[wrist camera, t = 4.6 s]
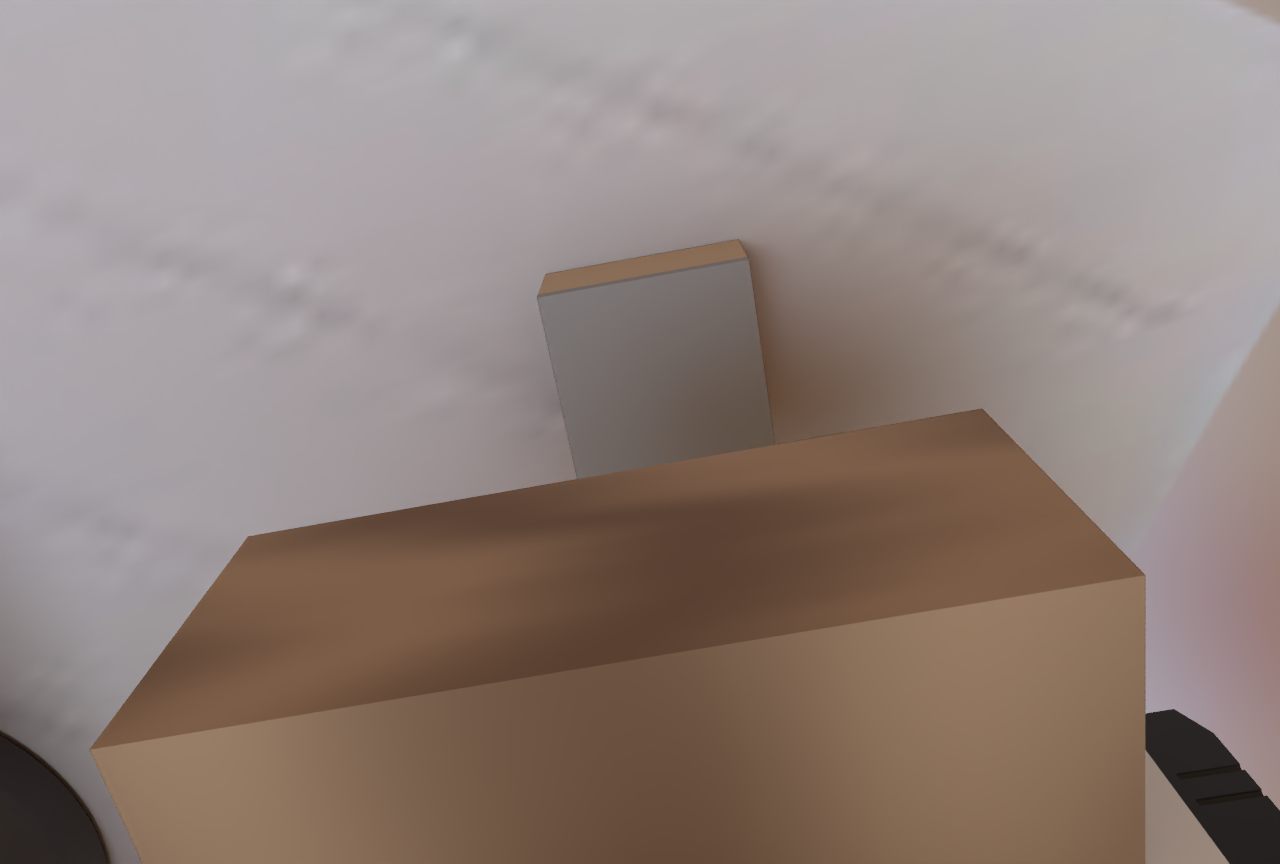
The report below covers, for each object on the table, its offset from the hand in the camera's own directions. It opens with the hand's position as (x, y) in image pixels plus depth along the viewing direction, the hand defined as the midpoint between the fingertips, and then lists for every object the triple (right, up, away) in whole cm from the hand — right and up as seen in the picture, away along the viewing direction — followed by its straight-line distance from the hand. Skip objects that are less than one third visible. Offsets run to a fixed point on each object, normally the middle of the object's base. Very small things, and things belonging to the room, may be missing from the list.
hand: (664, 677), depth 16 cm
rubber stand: (0, +6, +16) cm, 18 cm away
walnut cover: (0, -1, -2) cm, 2 cm away
